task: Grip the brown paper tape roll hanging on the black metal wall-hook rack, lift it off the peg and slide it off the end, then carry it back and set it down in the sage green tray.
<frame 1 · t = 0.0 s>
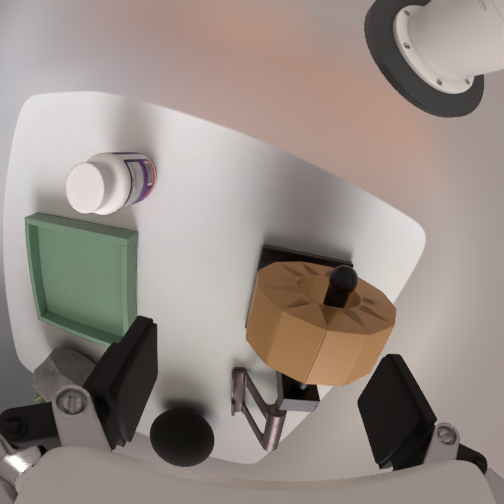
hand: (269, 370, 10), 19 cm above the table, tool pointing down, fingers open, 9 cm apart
tray: (82, 278, 31), on the table
pill bottle: (135, 177, 27), on the table
decorative ball: (187, 414, 39), on the table
potted plant: (84, 371, 37), on the table
hook rack: (297, 294, 30), on the table
tablet stand: (259, 388, 36), on the table
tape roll: (321, 315, 21), point 9 cm above the table, touching hook rack
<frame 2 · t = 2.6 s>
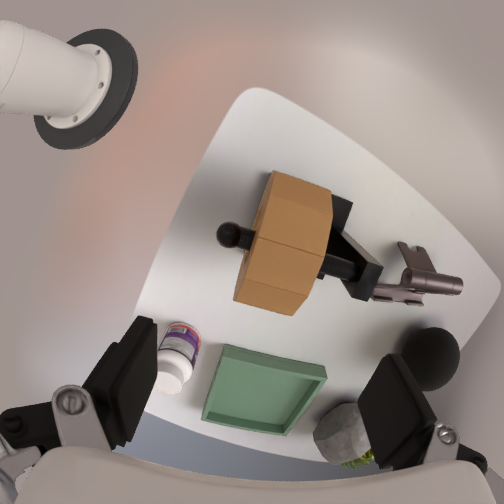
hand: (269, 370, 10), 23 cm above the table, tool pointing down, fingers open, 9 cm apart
tray: (259, 391, 40), on the table
pill bottle: (183, 336, 37), on the table
decorative ball: (416, 340, 37), on the table
potted plant: (349, 413, 43), on the table
hook rack: (298, 227, 32), on the table
tablet stand: (401, 271, 33), on the table
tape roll: (278, 243, 23), point 9 cm above the table, touching hook rack
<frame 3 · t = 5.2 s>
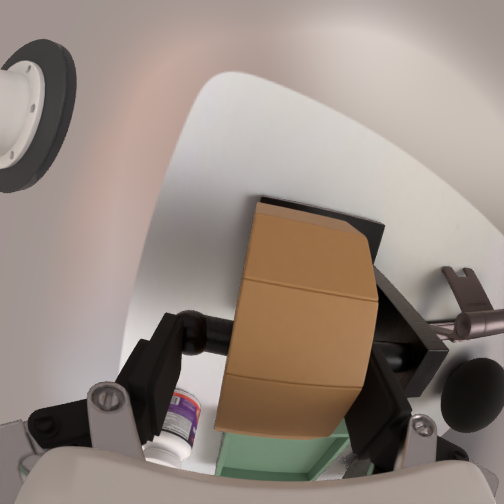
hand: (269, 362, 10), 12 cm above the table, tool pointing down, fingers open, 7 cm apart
tray: (277, 447, 31), on the table
pill bottle: (180, 401, 28), on the table
decorative ball: (458, 372, 26), on the table
potted plant: (381, 452, 32), on the table
hook rack: (309, 267, 22), on the table
tablet stand: (445, 301, 23), on the table
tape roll: (279, 326, 13), point 9 cm above the table, touching hook rack
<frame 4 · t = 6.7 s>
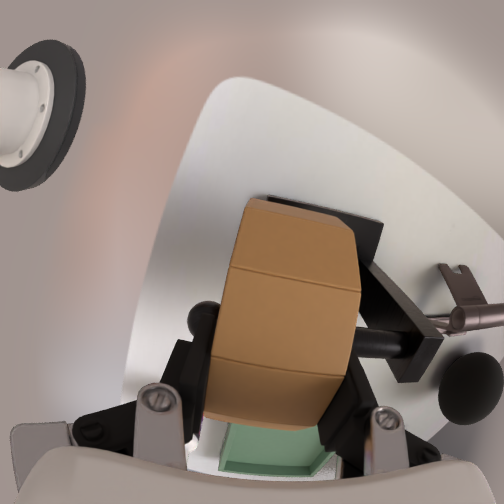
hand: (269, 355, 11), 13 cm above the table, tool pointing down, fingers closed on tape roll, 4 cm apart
tray: (280, 440, 32), on the table
decorative ball: (455, 366, 28), on the table
hook rack: (312, 263, 23), on the table
tablet stand: (441, 297, 24), on the table
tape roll: (271, 317, 14), point 10 cm above the table, touching gripper
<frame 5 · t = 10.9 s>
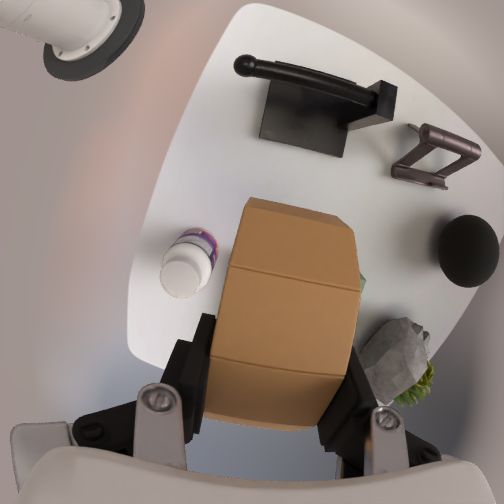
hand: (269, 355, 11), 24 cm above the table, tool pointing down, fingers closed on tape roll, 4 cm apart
pill bottle: (199, 247, 35), on the table
decorative ball: (449, 240, 34), on the table
potted plant: (391, 342, 40), on the table
hook rack: (308, 108, 29), on the table
tablet stand: (417, 154, 30), on the table
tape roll: (270, 317, 14), point 21 cm above the table, touching gripper
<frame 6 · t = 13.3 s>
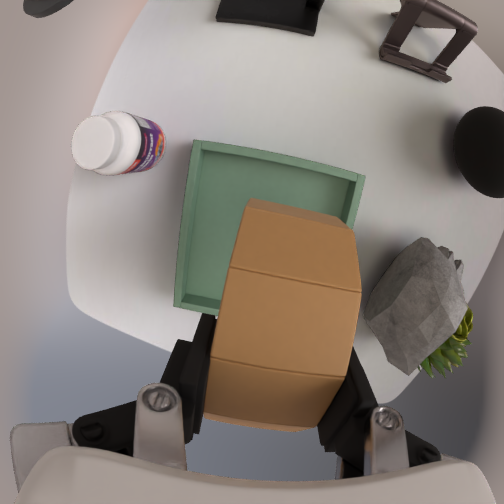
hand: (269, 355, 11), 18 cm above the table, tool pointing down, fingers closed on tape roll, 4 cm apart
tray: (263, 237, 28), on the table
pill bottle: (143, 145, 25), on the table
decorative ball: (465, 149, 23), on the table
potted plant: (408, 290, 29), on the table
tablet stand: (408, 44, 20), on the table
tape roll: (270, 318, 14), point 15 cm above the table, touching gripper
when the fingers open (9 cm above the table, at t = 15.5 s): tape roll stays where it is, resting on tray.
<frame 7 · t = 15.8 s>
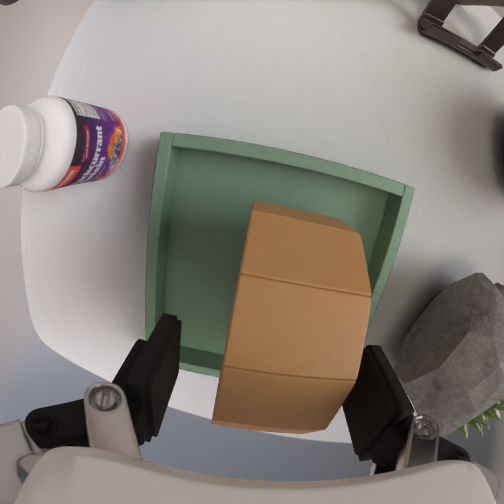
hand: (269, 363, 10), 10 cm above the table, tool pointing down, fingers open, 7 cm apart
tray: (265, 271, 19), on the table
pill bottle: (101, 144, 17), on the table
potted plant: (444, 329, 21), on the table
tablet stand: (449, 21, 12), on the table
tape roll: (275, 321, 14), point 6 cm above the table, touching tray
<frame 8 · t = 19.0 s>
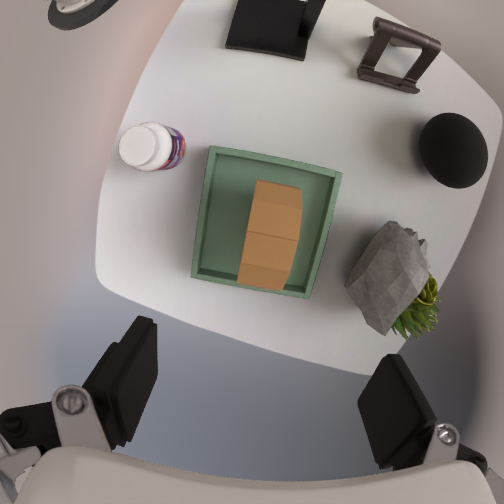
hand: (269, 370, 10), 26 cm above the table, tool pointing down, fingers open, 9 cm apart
tray: (263, 221, 35), on the table
pill bottle: (168, 148, 32), on the table
decorative ball: (433, 149, 31), on the table
potted plant: (385, 268, 37), on the table
hook rack: (271, 24, 26), on the table
tablet stand: (384, 63, 27), on the table
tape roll: (267, 235, 29), point 6 cm above the table, touching tray
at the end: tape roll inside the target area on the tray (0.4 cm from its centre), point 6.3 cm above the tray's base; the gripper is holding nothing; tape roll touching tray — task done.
